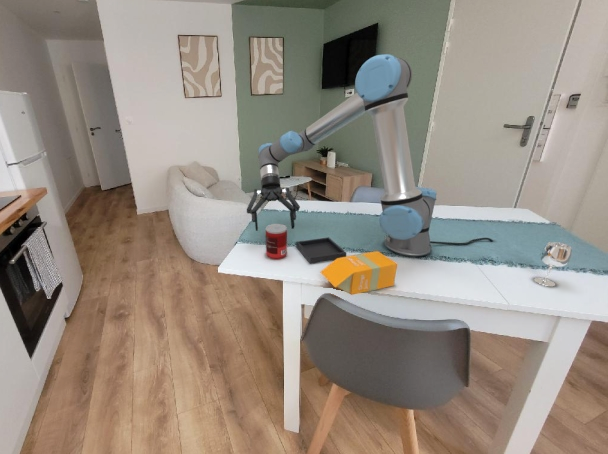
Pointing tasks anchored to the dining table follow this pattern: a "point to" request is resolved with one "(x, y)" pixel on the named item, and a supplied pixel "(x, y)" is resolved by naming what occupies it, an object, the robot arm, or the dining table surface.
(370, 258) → the orange juice
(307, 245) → the base pad
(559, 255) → the wineglass
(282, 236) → the canned food
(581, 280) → the dining table surface
